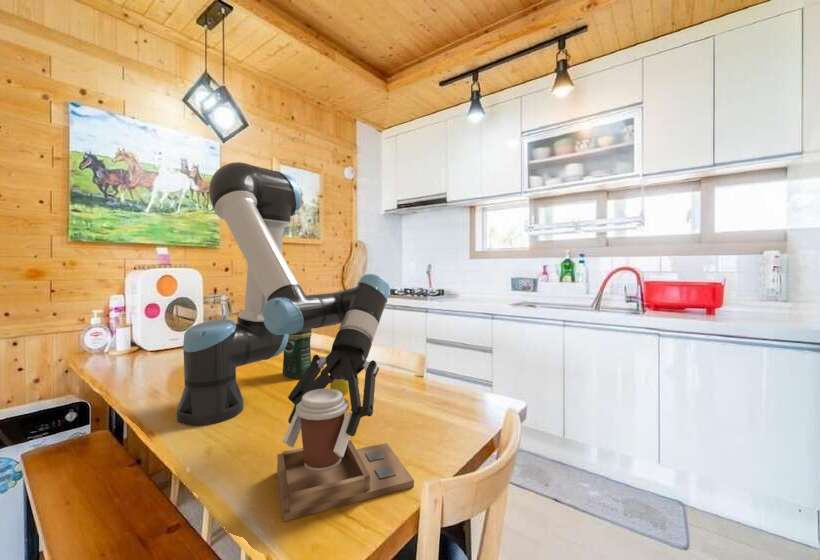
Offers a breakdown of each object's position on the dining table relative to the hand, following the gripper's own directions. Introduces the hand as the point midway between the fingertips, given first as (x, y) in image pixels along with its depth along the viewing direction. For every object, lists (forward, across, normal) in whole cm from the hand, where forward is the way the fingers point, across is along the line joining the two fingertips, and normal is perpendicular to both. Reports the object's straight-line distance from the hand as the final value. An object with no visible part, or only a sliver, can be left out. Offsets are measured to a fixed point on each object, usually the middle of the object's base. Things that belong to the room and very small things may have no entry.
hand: (312, 449), depth 60 cm
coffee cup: (+1, 0, -5) cm, 5 cm away
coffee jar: (-32, +41, -43) cm, 67 cm away
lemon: (-22, +17, -34) cm, 44 cm away
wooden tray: (+2, -3, -10) cm, 10 cm away
